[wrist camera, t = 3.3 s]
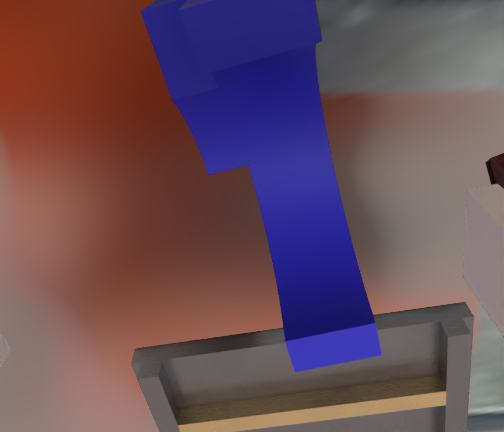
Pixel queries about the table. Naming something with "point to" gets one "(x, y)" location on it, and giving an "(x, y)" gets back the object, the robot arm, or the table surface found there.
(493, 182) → the book
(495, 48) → the table surface
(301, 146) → the blue long curved piece
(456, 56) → the table surface
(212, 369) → the grey tray
